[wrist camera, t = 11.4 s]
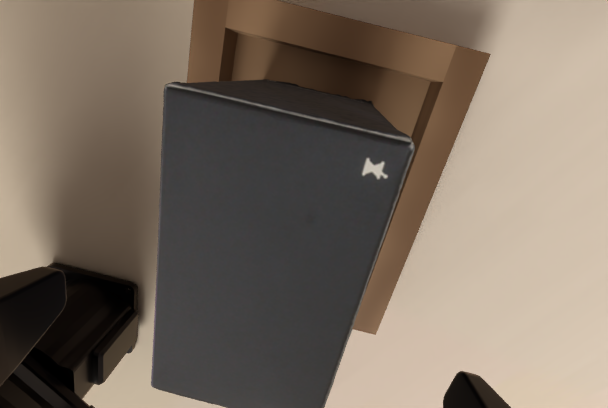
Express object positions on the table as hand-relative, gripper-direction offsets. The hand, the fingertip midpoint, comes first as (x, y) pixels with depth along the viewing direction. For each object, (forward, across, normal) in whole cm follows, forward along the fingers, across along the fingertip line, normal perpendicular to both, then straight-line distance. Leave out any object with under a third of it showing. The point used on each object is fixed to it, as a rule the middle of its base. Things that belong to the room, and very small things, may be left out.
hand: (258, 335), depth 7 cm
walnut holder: (+13, 0, 0) cm, 13 cm away
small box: (+12, 0, 0) cm, 13 cm away
